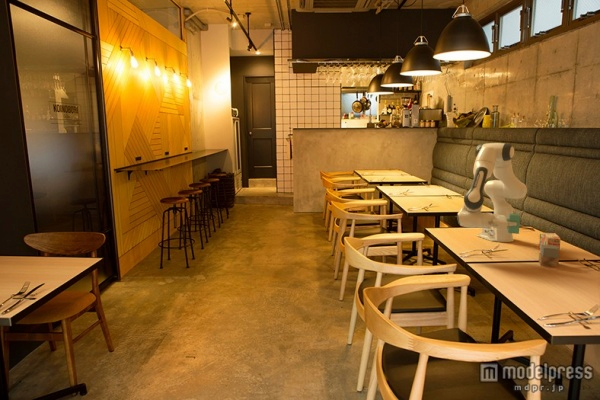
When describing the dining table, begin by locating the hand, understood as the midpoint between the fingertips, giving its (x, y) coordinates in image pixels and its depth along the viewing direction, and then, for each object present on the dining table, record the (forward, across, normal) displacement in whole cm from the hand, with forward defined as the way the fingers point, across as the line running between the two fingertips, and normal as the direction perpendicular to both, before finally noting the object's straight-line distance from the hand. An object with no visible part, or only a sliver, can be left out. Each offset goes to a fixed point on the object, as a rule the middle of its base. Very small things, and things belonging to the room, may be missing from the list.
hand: (515, 222), depth 228 cm
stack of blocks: (+20, +22, +22) cm, 37 cm away
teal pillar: (-1, 0, +6) cm, 6 cm away
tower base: (+17, 0, +22) cm, 28 cm away
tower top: (+17, 0, +17) cm, 24 cm away
